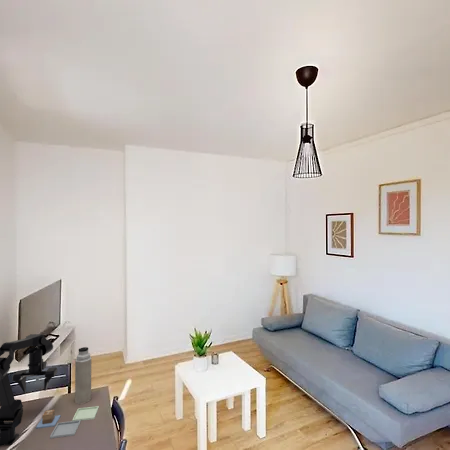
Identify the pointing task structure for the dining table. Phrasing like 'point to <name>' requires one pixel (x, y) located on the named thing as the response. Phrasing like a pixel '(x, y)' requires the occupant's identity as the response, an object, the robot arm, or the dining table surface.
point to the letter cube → (48, 416)
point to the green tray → (85, 413)
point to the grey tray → (65, 429)
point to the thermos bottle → (83, 376)
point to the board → (48, 423)
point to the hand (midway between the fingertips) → (35, 391)
